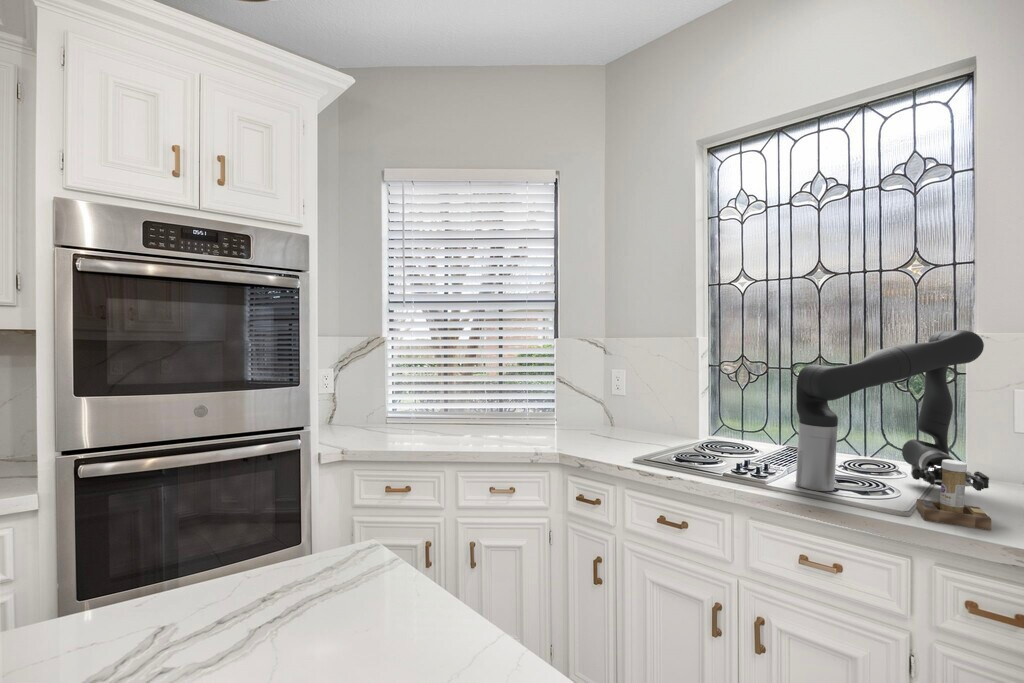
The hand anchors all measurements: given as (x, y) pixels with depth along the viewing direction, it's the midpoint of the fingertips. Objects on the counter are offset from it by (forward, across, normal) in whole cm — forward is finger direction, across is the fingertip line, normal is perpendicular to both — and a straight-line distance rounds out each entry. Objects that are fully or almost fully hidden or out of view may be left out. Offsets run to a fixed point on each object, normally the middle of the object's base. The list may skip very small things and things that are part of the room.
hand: (955, 483), depth 127 cm
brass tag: (-2, +5, +6) cm, 8 cm away
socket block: (-2, 0, +9) cm, 9 cm away
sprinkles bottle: (-2, 0, +9) cm, 9 cm away
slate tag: (-2, -5, +6) cm, 8 cm away
